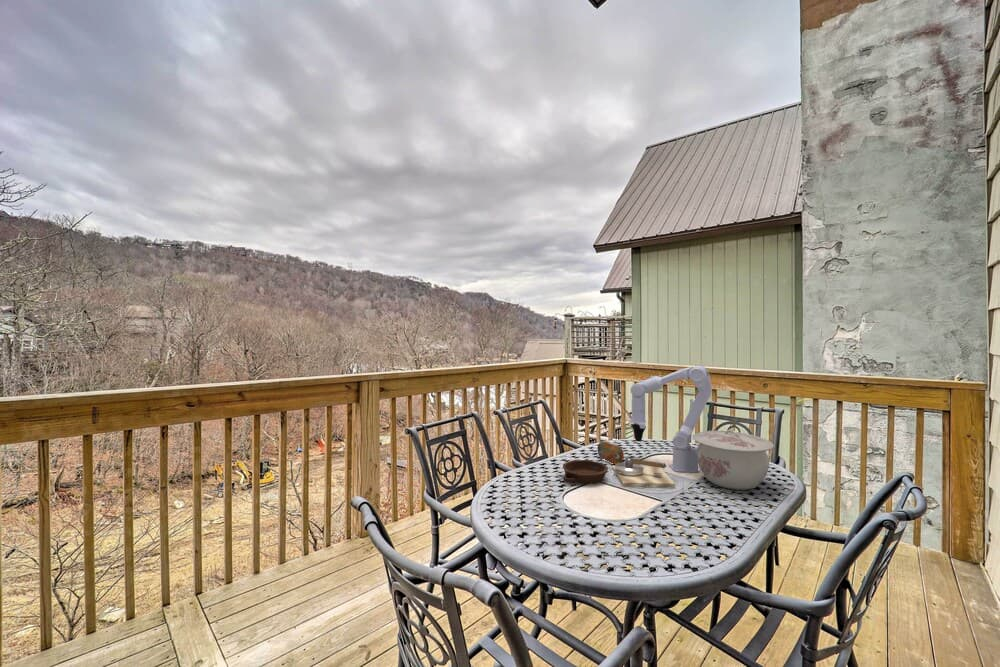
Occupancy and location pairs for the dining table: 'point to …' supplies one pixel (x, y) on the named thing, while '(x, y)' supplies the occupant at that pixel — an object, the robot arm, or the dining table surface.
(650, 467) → the record player
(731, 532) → the dining table surface
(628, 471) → the metal disc with handle
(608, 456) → the tin
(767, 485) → the dining table surface
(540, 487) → the dining table surface
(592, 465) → the dish
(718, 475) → the chamber pot
